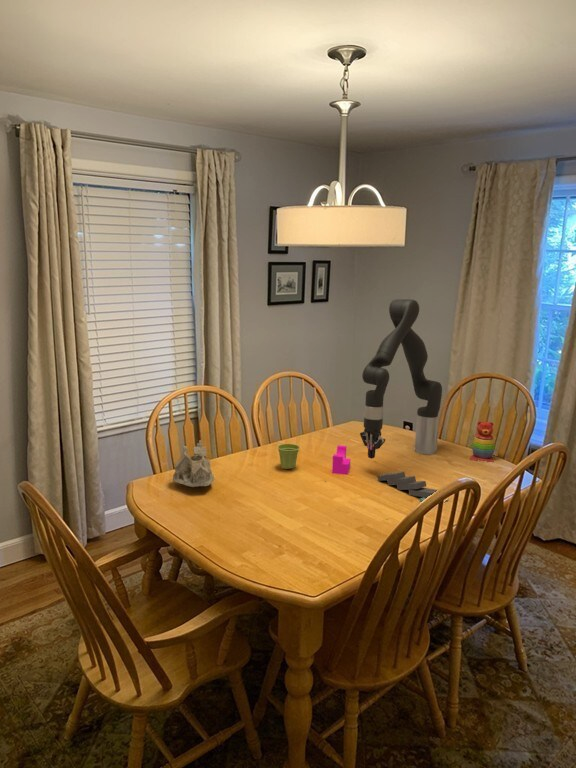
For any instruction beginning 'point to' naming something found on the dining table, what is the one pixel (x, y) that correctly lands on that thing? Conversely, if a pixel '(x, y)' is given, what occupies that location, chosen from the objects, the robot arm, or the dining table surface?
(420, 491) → the domino
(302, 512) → the dining table surface
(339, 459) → the toy block
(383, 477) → the domino
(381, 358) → the robot arm
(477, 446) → the stacking bear
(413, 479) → the domino
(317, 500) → the dining table surface
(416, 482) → the domino
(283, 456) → the plant pot
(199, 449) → the ceramic cottage
